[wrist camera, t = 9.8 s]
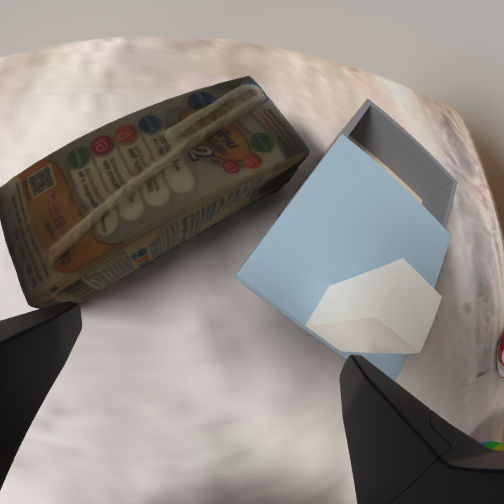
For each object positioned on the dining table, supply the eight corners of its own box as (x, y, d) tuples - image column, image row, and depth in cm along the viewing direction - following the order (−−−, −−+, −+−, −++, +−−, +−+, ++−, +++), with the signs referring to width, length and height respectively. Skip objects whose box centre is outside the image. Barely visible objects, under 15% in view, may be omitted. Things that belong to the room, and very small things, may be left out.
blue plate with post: (383, 385, 16) (470, 396, 9) (233, 277, 15) (272, 235, 9) (443, 238, 20) (510, 206, 13) (336, 139, 20) (388, 76, 13)
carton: (383, 301, 23) (425, 292, 18) (277, 216, 23) (302, 185, 18) (423, 202, 27) (457, 182, 22) (342, 130, 27) (367, 98, 22)
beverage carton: (288, 192, 24) (322, 146, 17) (64, 320, 17) (18, 313, 11) (234, 119, 24) (251, 64, 18) (26, 225, 18) (-17, 188, 12)
